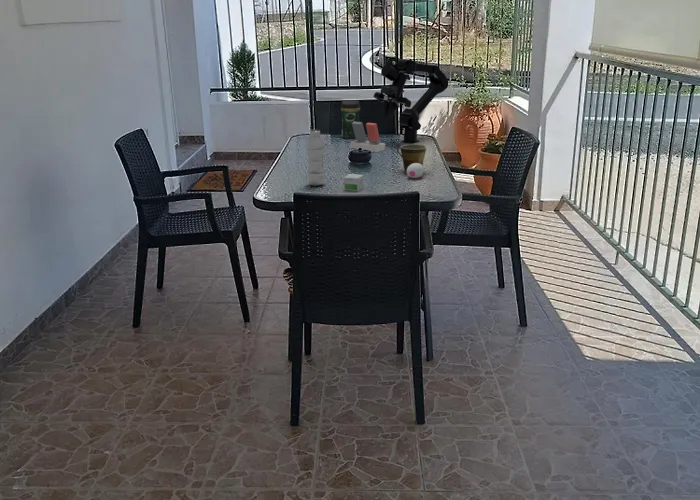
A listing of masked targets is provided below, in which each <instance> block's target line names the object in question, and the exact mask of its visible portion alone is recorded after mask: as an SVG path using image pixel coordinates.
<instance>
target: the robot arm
mask: <svg viewBox="0 0 700 500" xmlns="http://www.w3.org/2000/svg"><path fill="white" fill-rule="evenodd" d="M380 70H381V71H380V75H381V76H383V77H384V78H385V79H387V80H389V81H390V82H392V83H390V84H389V85H388V86H382V85H381V86H380V91H375V92H374V94H373V98H374V99H376V100H377V101H378V102H381V103H383V105H384V117H385V118H388V117H389V116H390V115H392V113H393V112H395V110H397V109H398V108H401V106H400V105H401V104H402V105H403V106H404V107H405V108H404V109H403V111H402V112H400V115H399V117H398V119H399V120H398V121H399V124H400V128H401V129H403V140H401V143H409V144H414V143H417V142H418V143H419V142H420V139H418V131H419V130H421V128H422V124H421V123H420V121H419V120H420V114H422V112H423V111H424V110H425V109H426V108H427V106H428V105H430V103H431V102H432V100H433V99H434V98H435V97H436V96H437V95H439V94H441V93H443V92H445V91H446V90H447V89H448V88H449V80H448V77H446V76H447V75H446V74H445V73H444V72H443V71H442V70H441V69H440V67H439V66H438V65H437V64H436V65H435V64H425V63H418V62H417V61H414V60H413V59H406V58H405V59H404V58H400V59H399V60H398V61H397V62H396V63H395V64H394V63H393V62H390V61H388V62H387V64H385V65H384V66H383V67H382V68H381V69H380ZM415 72H418V73H419V72H420V73H427V74H428V81H429V83H428V88H427V90H425V92H424V94H423V95H422V96H421V97H420V98H419V99H418V100H417V101H416V102H415V104H414V105H413V106H412V101H411V100H410V99H409V98H407V97H404V96H401V95H402V93H403V94H404V92H405V89H404V88H405V85H406V83H407V81H411V77H410V74H409V73H415ZM411 106H412V107H411Z"/></svg>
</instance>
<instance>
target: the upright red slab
mask: <svg viewBox="0 0 700 500" xmlns="http://www.w3.org/2000/svg"><path fill="white" fill-rule="evenodd" d="M365 127H366V133H367V137H368V138H367V140H368V141H369V142H370V143H376V144H379V143H381V140H380V134H379V129H378V124H377V123H376V122H375V123H374V122H367V123H365Z"/></svg>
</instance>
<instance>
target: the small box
mask: <svg viewBox="0 0 700 500" xmlns="http://www.w3.org/2000/svg"><path fill="white" fill-rule="evenodd" d="M364 177H365V175H364V174H355V173H349V174H346V175H345V176H344V177H343V190H344V191H352V192H360V191H361V190H362V189H364V188H365V186H364V185H365V184H364V183H365V181H364Z"/></svg>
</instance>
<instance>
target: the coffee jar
mask: <svg viewBox="0 0 700 500" xmlns="http://www.w3.org/2000/svg"><path fill="white" fill-rule="evenodd" d="M340 111H341V114H342V117H341V118H342V124H341V138H342V139H347V140H348V139H349V140H353V139H355V140H356V137H355V134H354V130H353V126H352V123H353V122H354V121H355V122H360V112H361V105H360V100H354V99H353V100H352V99H351V100H342V102H341V106H340Z"/></svg>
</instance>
